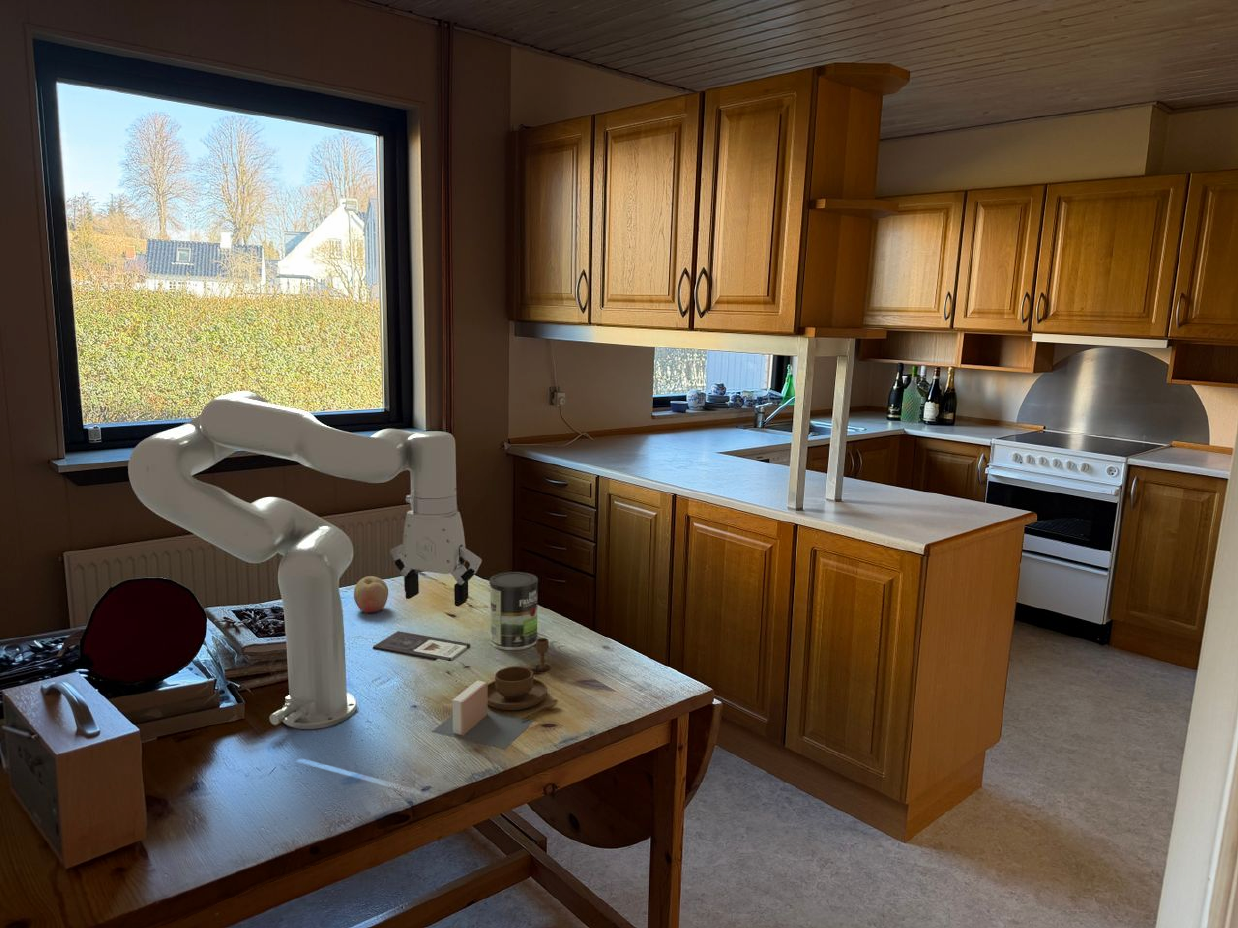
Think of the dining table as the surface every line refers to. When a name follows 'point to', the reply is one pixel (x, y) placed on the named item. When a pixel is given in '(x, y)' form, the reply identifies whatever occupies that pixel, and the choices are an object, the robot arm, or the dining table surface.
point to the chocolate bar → (421, 646)
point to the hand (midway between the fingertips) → (436, 600)
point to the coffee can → (513, 610)
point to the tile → (470, 707)
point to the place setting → (520, 686)
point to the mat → (489, 730)
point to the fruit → (371, 594)
